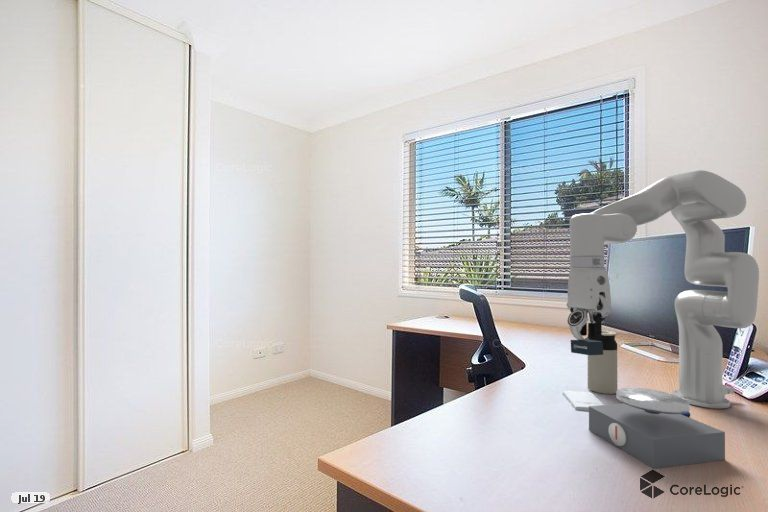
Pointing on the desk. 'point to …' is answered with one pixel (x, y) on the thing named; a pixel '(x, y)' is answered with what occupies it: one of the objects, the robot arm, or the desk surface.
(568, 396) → the external hard drive
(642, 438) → the scale
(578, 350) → the watch
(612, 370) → the travel mug
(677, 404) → the scale pan
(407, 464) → the desk surface
